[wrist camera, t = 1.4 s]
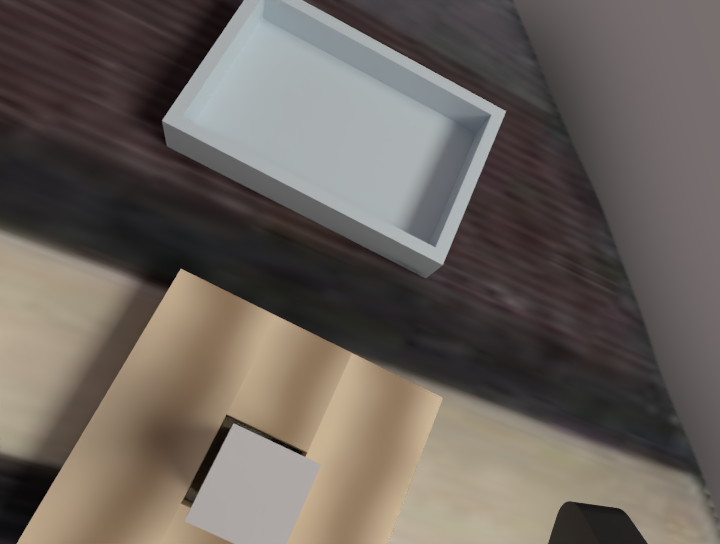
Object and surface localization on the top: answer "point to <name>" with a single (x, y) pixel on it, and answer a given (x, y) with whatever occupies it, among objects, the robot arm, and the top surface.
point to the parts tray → (337, 130)
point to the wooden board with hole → (248, 406)
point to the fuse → (253, 490)
